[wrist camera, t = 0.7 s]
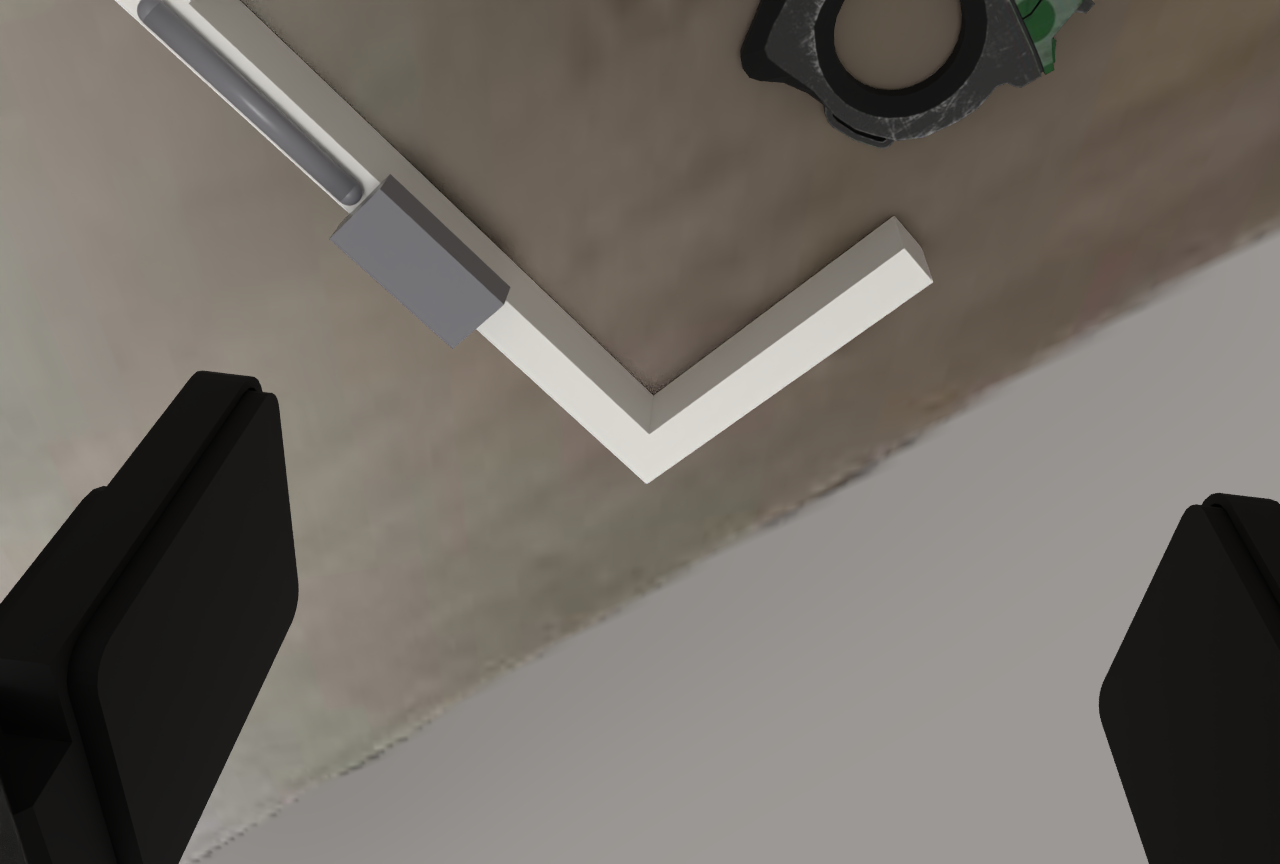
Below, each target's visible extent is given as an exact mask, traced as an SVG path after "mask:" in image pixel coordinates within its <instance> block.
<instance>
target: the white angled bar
mask: <svg viewBox="0 0 1280 864" xmlns="http://www.w3.org/2000/svg"><path fill="white" fill-rule="evenodd" d="M115 1H116V2H117V3H118V4H119V5H121V6H122V7H123V8H124V9H125V10H126V11H127V12H128V13H129V14H130V15H132V16H133V17H134V18H135V19H136V20H137V21H138V22H139V23H140V24H141V25H143V26H144V27H145V28H146V29H147V30H148V31H149V32H150V33H151V34H152V35H154V36H155V37H156V38H157V39H158V40H159V41H160V42H161V43H162V44H163V45H165V46H166V47H167V48H168V49H169V50H170V51H171V52H172V53H173V54H174V55H175V56H177V57H178V58H179V59H180V60H181V61H182V62H183V63H184V64H185V65H186V66H188V67H189V68H190V69H191V70H192V71H193V72H194V73H195V74H196V75H197V76H199V77H200V78H201V79H202V80H203V81H204V82H205V83H206V84H207V85H208V86H210V87H211V88H212V89H213V90H214V91H215V92H216V93H217V94H218V95H219V96H221V97H222V98H223V99H224V100H225V101H226V102H227V103H228V104H229V105H230V106H232V107H233V108H234V109H235V110H236V111H237V112H238V113H239V114H240V115H241V116H243V117H244V118H245V119H246V120H247V121H248V122H249V123H250V124H251V125H252V126H254V127H255V128H256V129H257V130H258V131H259V132H260V133H261V134H262V135H263V136H265V137H266V138H267V139H268V140H269V141H270V142H271V143H272V144H273V145H274V146H276V147H277V148H278V149H279V150H280V151H281V152H282V153H283V154H284V155H285V156H287V157H288V158H289V159H290V160H291V161H292V162H293V163H294V164H295V165H296V166H298V167H299V168H300V169H301V170H302V171H303V172H304V173H305V174H306V175H307V176H309V177H310V178H311V179H312V180H313V181H314V182H315V183H316V184H317V185H318V186H320V187H321V188H322V189H323V190H324V191H325V192H326V193H327V194H328V195H329V196H331V197H332V198H333V199H334V200H335V201H336V202H337V203H338V204H339V205H340V206H342V207H343V208H344V209H345V210H346V211H347V212H348V213H349V215H348V216H347V217H346V218H345V219H344V220H343V221H342V222H341V223H340V225H339V226H338V228H337V229H336V230H335V232H334V233H333V235H332V236H331V237H330V240H331V241H332V242H333V243H334V244H335V245H336V246H338V247H339V248H340V249H341V250H342V251H343V252H344V253H345V254H347V255H348V256H349V257H350V258H351V259H352V260H353V261H354V262H356V263H357V264H358V265H359V266H360V267H361V268H362V269H363V270H364V271H366V272H367V273H368V274H369V275H370V276H371V277H372V278H373V279H375V280H376V281H377V282H378V283H379V284H380V285H381V286H382V287H384V288H385V289H386V290H387V291H388V292H389V293H390V294H391V295H393V296H394V297H395V298H396V299H397V300H398V301H399V302H400V303H402V304H403V305H404V306H405V307H406V308H407V309H408V310H409V311H410V312H412V313H413V314H414V315H415V316H416V317H417V318H418V319H419V320H421V321H422V322H423V323H424V324H425V325H426V326H427V327H428V328H430V329H431V330H432V331H433V332H434V333H435V334H436V335H437V336H439V337H440V338H441V339H442V340H443V341H444V342H445V343H446V344H448V345H449V346H450V347H451V348H452V349H453V348H454V347H456V346H457V345H458V344H459V343H460V342H461V341H463V340H464V339H465V338H466V337H467V336H468V335H470V334H471V333H472V332H473V331H474V330H475V329H477V330H478V331H479V332H480V333H481V334H482V335H483V336H484V337H486V338H487V339H488V340H489V341H490V342H491V343H492V344H493V345H494V346H495V347H497V348H498V349H499V350H500V351H501V352H502V353H503V354H504V355H505V356H506V357H508V358H509V359H510V360H511V361H512V362H513V363H514V364H515V365H516V366H517V367H519V368H520V369H521V370H522V371H523V372H524V373H525V374H526V375H527V376H528V377H530V378H531V379H532V380H533V381H534V382H535V383H536V384H537V385H538V386H539V387H541V388H542V389H543V390H544V391H545V392H546V393H547V394H548V395H549V396H550V397H552V398H553V399H554V400H555V401H556V402H557V403H558V404H559V405H560V406H561V407H563V408H564V409H565V410H566V411H567V412H568V413H569V414H570V415H571V416H572V417H574V418H575V419H576V420H577V421H578V422H579V423H580V424H581V425H582V426H583V427H584V428H586V429H587V430H588V431H589V432H590V433H591V434H592V435H593V436H594V437H595V438H597V439H598V440H599V441H600V442H601V443H602V444H603V445H604V446H605V447H606V448H608V449H609V450H610V451H611V452H612V453H613V454H614V455H615V456H616V457H617V458H619V459H620V460H621V461H622V462H623V463H624V464H625V465H626V466H627V467H628V468H630V469H631V470H632V471H633V472H634V473H635V474H636V475H637V476H638V477H639V478H641V479H642V480H643V481H644V482H645V483H646V484H648V483H649V482H651V481H652V480H653V479H655V478H656V477H658V476H659V475H660V474H662V473H663V472H665V471H666V470H668V469H669V468H670V467H672V466H673V465H675V464H676V463H677V462H679V461H680V460H682V459H683V458H685V457H686V456H687V455H689V454H690V453H692V452H693V451H694V450H696V449H697V448H699V447H700V446H702V445H703V444H704V443H706V442H707V441H709V440H710V439H711V438H713V437H714V436H716V435H717V434H719V433H720V432H721V431H723V430H724V429H726V428H727V427H728V426H730V425H731V424H733V423H734V422H736V421H737V420H738V419H740V418H741V417H743V416H744V415H746V414H747V413H748V412H750V411H751V410H753V409H754V408H755V407H757V406H758V405H760V404H761V403H763V402H764V401H765V400H767V399H768V398H770V397H771V396H772V395H774V394H775V393H777V392H778V391H780V390H781V389H782V388H784V387H785V386H787V385H788V384H789V383H791V382H792V381H794V380H795V379H797V378H798V377H799V376H801V375H802V374H804V373H805V372H806V371H808V370H809V369H811V368H812V367H814V366H815V365H816V364H818V363H819V362H821V361H822V360H823V359H825V358H826V357H828V356H829V355H831V354H832V353H833V352H835V351H836V350H838V349H839V348H840V347H842V346H843V345H845V344H846V343H848V342H849V341H850V340H852V339H853V338H855V337H856V336H857V335H859V334H860V333H862V332H863V331H865V330H866V329H867V328H869V327H870V326H872V325H873V324H874V323H876V322H877V321H879V320H880V319H882V318H883V317H884V316H886V315H887V314H889V313H890V312H891V311H893V310H894V309H896V308H897V307H899V306H900V305H901V304H903V303H904V302H906V301H907V300H908V299H910V298H911V297H913V296H914V295H916V294H917V293H918V292H920V291H921V290H923V289H924V288H925V287H927V286H928V285H930V284H931V283H933V280H932V277H931V274H930V271H929V268H928V265H927V262H926V259H925V256H924V253H923V250H922V248H921V246H920V245H919V244H918V243H917V242H916V240H915V239H914V238H913V237H912V236H911V234H910V233H909V232H908V231H907V230H906V229H905V227H904V226H903V225H902V224H901V223H900V221H899V220H898V219H897V218H896V217H895V216H893V217H891V218H890V219H889V220H887V221H886V222H885V223H883V224H882V225H881V226H879V227H878V228H877V229H875V230H874V231H873V232H871V233H870V234H869V235H867V236H866V237H865V238H863V239H862V240H861V241H859V242H858V243H857V244H855V245H854V246H853V247H851V248H850V249H849V250H847V251H846V252H845V253H843V254H842V255H841V256H839V257H838V258H837V259H835V260H834V261H833V262H831V263H830V264H829V265H827V266H826V267H825V268H823V269H822V270H821V271H819V272H818V273H817V274H815V275H814V276H813V277H811V278H810V279H809V280H807V281H806V282H805V283H803V284H802V285H800V286H799V287H798V288H796V289H795V290H794V291H792V292H791V293H790V294H788V295H787V296H786V297H784V298H783V299H782V300H780V301H779V302H778V303H776V304H775V305H774V306H772V307H771V308H770V309H768V310H767V311H766V312H764V313H763V314H762V315H760V316H759V317H758V318H756V319H755V320H754V321H752V322H751V323H750V324H748V325H747V326H746V327H744V328H743V329H742V330H740V331H739V332H738V333H736V334H735V335H734V336H732V337H731V338H730V339H728V340H727V341H726V342H724V343H723V344H722V345H720V346H719V347H718V348H716V349H715V350H714V351H712V352H711V353H710V354H708V355H707V356H706V357H704V358H703V359H702V360H700V361H699V362H698V363H696V364H695V365H694V366H692V367H691V368H690V369H688V370H687V371H686V372H684V373H683V374H682V375H680V376H679V377H678V378H676V379H675V380H674V381H672V382H671V383H670V384H668V385H667V386H666V387H664V388H663V389H662V390H660V391H659V392H658V393H656V394H655V395H654V396H653V395H652V394H651V393H650V392H649V391H648V390H647V389H646V388H645V387H644V386H643V385H642V384H641V383H640V382H639V381H638V380H637V379H636V378H634V377H633V376H632V375H631V374H630V373H629V372H628V371H627V370H626V369H625V368H624V367H623V366H622V365H621V364H620V363H619V362H618V361H617V360H616V359H615V358H614V357H612V356H611V355H610V354H609V353H608V352H607V351H606V350H605V349H604V348H603V347H602V346H601V345H600V344H599V343H598V342H597V341H596V340H595V339H594V338H593V337H592V336H591V335H589V334H588V333H587V332H586V331H585V330H584V329H583V328H582V327H581V326H580V325H579V324H578V323H577V322H576V321H575V320H574V319H573V318H572V317H571V316H570V315H569V314H568V313H566V312H565V311H564V310H563V309H562V308H561V307H560V306H559V305H558V304H557V303H556V302H555V301H554V300H553V299H552V298H551V297H550V296H549V295H548V294H547V293H546V292H545V291H543V290H542V289H541V288H540V287H539V286H538V285H537V284H536V283H535V282H534V281H533V280H532V279H531V278H530V277H529V276H528V275H527V274H526V273H525V272H524V271H523V270H521V269H520V268H519V267H518V266H517V265H516V264H515V263H514V262H513V261H512V260H511V259H510V258H509V257H508V256H507V255H506V254H505V253H504V252H503V251H502V250H501V249H500V248H498V247H497V246H496V245H495V244H494V243H493V242H492V241H491V240H490V239H489V238H488V237H487V236H486V235H485V234H484V233H483V232H482V231H481V230H480V229H479V228H478V227H477V226H475V225H474V224H473V223H472V222H471V221H470V220H469V219H468V218H467V217H466V216H465V215H464V214H463V213H462V212H461V211H460V210H459V209H458V208H457V207H456V206H455V205H454V204H452V203H451V202H450V201H449V200H448V199H447V198H446V197H445V196H444V195H443V194H442V193H441V192H440V191H439V190H438V189H437V188H436V187H435V186H434V185H433V184H432V183H430V182H429V181H428V180H427V179H426V178H425V177H424V176H423V175H422V174H421V173H420V172H419V171H418V170H417V169H416V168H415V167H414V166H413V165H412V164H411V163H410V162H409V161H407V160H406V159H405V158H404V157H403V156H402V155H401V154H400V153H399V152H398V151H397V150H396V149H395V148H394V147H393V146H392V145H391V144H390V143H389V142H388V141H387V140H386V139H384V138H383V137H382V136H381V135H380V134H379V133H378V132H377V131H376V130H375V129H374V128H373V127H372V126H371V125H370V124H369V123H368V122H367V121H366V120H365V119H364V118H363V117H361V116H360V115H359V114H358V113H357V112H356V111H355V110H354V109H353V108H352V107H351V106H350V105H349V104H348V103H347V102H346V101H345V100H344V99H343V98H342V97H341V96H339V95H338V94H337V93H336V92H335V91H334V90H333V89H332V88H331V87H330V86H329V85H328V84H327V83H326V82H325V81H324V80H323V79H322V78H321V77H320V76H319V75H318V74H316V73H315V72H314V71H313V70H312V69H311V68H310V67H309V66H308V65H307V64H306V63H305V62H304V61H303V60H302V59H301V58H300V57H299V56H298V55H297V54H296V53H295V52H293V51H292V50H291V49H290V48H289V47H288V46H287V45H286V44H285V43H284V42H283V41H282V40H281V39H280V38H279V37H278V36H277V35H276V34H275V33H274V32H273V31H271V30H270V29H269V28H268V27H267V26H266V25H265V24H264V23H263V22H262V21H261V20H260V19H259V18H258V17H257V16H256V15H255V14H254V13H253V12H252V11H251V10H250V9H248V8H247V7H246V6H245V5H244V4H243V3H242V2H241V1H240V0H115Z"/></svg>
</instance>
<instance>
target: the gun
mask: <svg viewBox="0 0 1280 864" xmlns="http://www.w3.org/2000/svg"><path fill="white" fill-rule="evenodd" d="M843 2H844V0H761V1H760V4H759V6H758V9H757V12H756V14H755V17H754V19H753V21H752V23H751V26H750V28H749V30H748V33H747V35H746V37H745V40H744V43H743V45H742V48H741V61H742V67H743V69H744V71H745V72H746V74H747V75H748V76H749V78H753V79H756V80H759V81H769V82H781V83H786V84H788V85H790V86H792V87H795V88H797V89H799V90H802V91H804V92H806V93H808V94H809V95H811V96H812V97H814V98H815V99H816V100H818V101H819V102H821V103H822V104H823V105H824V111H825V115H826V118H827V121H828V122H829V124H830V125H831V126H832V127H833V128H835V129H837V130H838V131H840V132H841V133H843V134H845V135H846V136H848V137H849V138H851V139H853V140H855V141H858V142H861V143H864V144H867V145H870V146H873V147H876V148H887V147H888V146H890V145H891V144H892V143H893V142H894V140H897V141H900V140H908V139H915V138H923V137H926V136H928V135H930V134H933V133H935V132H937V131H939V130H942V129H944V128H946V127H948V126H950V125H952V124H954V123H956V122H958V121H960V120H961V119H963V118H964V117H966V116H967V115H969V114H970V113H972V112H973V111H975V110H976V109H978V108H979V107H980V106H981V104H982V103H983V102H984V101H985V100H986V99H987V98H988V96H989V95H990V94H991V93H992V92H993V91H994V90H995V88H996V87H997V86H1001V85H1004V84H1007V83H1008V84H1009V85H1011V86H1014V87H1019V88H1022V87H1023V86H1025V85H1027V84H1029V83H1030V82H1032V81H1034V80H1036V79H1038V78H1039V77H1041V73H1042V72H1044V73H1045V75H1046V74H1047V73H1049V72H1051V71H1053V70H1054V62H1055V46H1056V40H1055V39H1054V37H1053V36H1054V35H1055V34H1056V33H1057V32H1058V31H1059V29H1060V28H1061V27H1062V26H1063V25H1064V23H1065V22H1066V21H1067V20H1068V19H1069V18H1070V16H1071V15H1072V14H1073V13H1074V12H1079V13H1087V12H1088V11H1089V9H1090V8H1091V7H1092V6H1093V5H1094V4H1095V3H1094V2H1093V1H1091V0H960V2H961V10H962V25H961V31H960V35H959V39H958V42H957V44H956V46H955V48H954V50H953V53H952V54H951V56H950V57H949V58H948V60H947V61H946V63H945V64H944V65H943V66H942V67H941V68H940V69H939V70H938V71H937V72H936V73H935V74H933V75H932V76H931V77H929V78H928V79H926V80H925V81H923V82H921V83H919V84H916V85H914V86H912V87H908V88H904V89H900V90H882V89H875V88H873V87H870V86H867V85H864V84H863V83H861V82H859V81H858V80H856V79H854V78H853V77H852V76H851V75H850V74H849V73H848V72H847V71H846V70H845V68H844V67H843V66H842V64H841V63H840V61H839V59H838V57H837V54H836V52H835V47H834V27H835V22H836V17H837V15H838V13H839V11H840V8H841V6H842V4H843Z"/></svg>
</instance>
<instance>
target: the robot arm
mask: <svg viewBox="0 0 1280 864" xmlns="http://www.w3.org/2000/svg"><path fill="white" fill-rule="evenodd" d="M298 592H299V588H298V576H297V567H296V558H295V549H294V540H293V530H292V521H291V512H290V503H289V494H288V485H287V475H286V466H285V457H284V448H283V439H282V430H281V420H280V411H279V404H278V400H277V398H276V395H274V394H273V393H267V392H262V388H261V385H260V383H259V381H258V379H256V378H255V377H251V376H243V375H235V374H226V373H218V372H210V371H198V372H196V373H195V374H194V375H193V376H192V377H191V378H190V379H189V380H188V382H187V383H186V384H185V386H184V387H183V388H182V390H181V391H180V392H179V393H178V395H177V396H176V397H175V399H174V400H173V401H172V403H171V404H170V405H169V406H168V408H167V409H166V410H165V412H164V413H163V414H162V416H161V417H160V418H159V419H158V421H157V422H156V423H155V425H154V426H153V427H152V428H151V430H150V431H149V432H148V434H147V435H146V436H145V438H144V439H143V440H142V441H141V443H140V444H139V445H138V447H137V448H136V449H135V451H134V452H133V453H132V454H131V456H130V457H129V458H128V460H127V461H126V462H125V464H124V465H123V466H122V467H121V469H120V470H119V471H118V473H117V474H116V475H115V476H114V478H113V479H112V480H111V482H110V483H109V484H108V486H102V487H99V488H96V489H94V490H92V491H91V492H90V493H89V494H88V495H87V496H86V497H85V498H84V499H83V500H82V501H81V502H80V504H79V505H78V506H77V507H76V509H75V510H74V511H73V512H72V514H71V515H70V516H69V518H68V519H67V520H66V521H65V523H64V524H63V525H62V526H61V528H60V529H59V530H58V532H57V533H56V534H55V535H54V537H53V538H52V539H51V540H50V542H49V543H48V544H47V545H46V547H45V548H44V549H43V551H42V552H41V553H40V554H39V556H38V557H37V558H36V559H35V561H34V562H33V563H32V565H31V566H30V567H29V568H28V570H27V571H26V572H25V573H24V575H23V576H22V577H21V578H20V580H19V581H18V582H17V584H16V585H15V586H14V587H13V589H12V590H11V591H10V592H9V594H8V595H7V596H6V598H5V599H4V600H3V601H2V603H1V604H0V864H179V861H180V859H181V857H182V855H183V853H184V851H185V849H186V847H187V844H188V842H189V840H190V838H191V836H192V834H193V832H194V829H195V827H196V825H197V823H198V821H199V819H200V817H201V815H202V812H203V810H204V808H205V806H206V804H207V802H208V800H209V798H210V795H211V793H212V791H213V789H214V787H215V785H216V783H217V781H218V778H219V776H220V774H221V772H222V770H223V768H224V766H225V764H226V761H227V759H228V757H229V755H230V753H231V751H232V749H233V746H234V744H235V742H236V740H237V738H238V736H239V734H240V732H241V729H242V727H243V725H244V723H245V721H246V719H247V717H248V715H249V712H250V710H251V708H252V706H253V704H254V702H255V700H256V698H257V695H258V693H259V691H260V689H261V687H262V685H263V683H264V681H265V678H266V676H267V674H268V672H269V670H270V668H271V666H272V663H273V661H274V659H275V657H276V655H277V653H278V651H279V649H280V646H281V644H282V642H283V640H284V638H285V636H286V634H287V632H288V629H289V627H290V625H291V623H292V621H293V618H294V615H295V611H296V608H297V602H298ZM1099 713H1100V718H1101V722H1102V725H1103V728H1104V731H1105V734H1106V737H1107V740H1108V743H1109V746H1110V749H1111V752H1112V755H1113V758H1114V761H1115V764H1116V767H1117V770H1118V773H1119V776H1120V779H1121V782H1122V785H1123V788H1124V790H1125V794H1126V797H1127V799H1128V803H1129V806H1130V808H1131V812H1132V814H1133V817H1134V820H1135V823H1136V826H1137V829H1138V832H1139V835H1140V838H1141V841H1142V844H1143V847H1144V850H1145V853H1146V856H1147V859H1148V862H1149V864H1280V504H1279V503H1278V502H1277V501H1274V500H1271V499H1265V498H1256V497H1247V496H1240V495H1231V494H1223V493H1215V494H1211V495H1210V496H1209V497H1208V498H1207V499H1205V501H1204V502H1203V504H1202V505H1192V506H1190V507H1189V508H1187V509H1186V511H1185V513H1184V514H1183V516H1182V518H1181V520H1180V522H1179V524H1178V526H1177V528H1176V530H1175V532H1174V534H1173V536H1172V539H1171V541H1170V543H1169V545H1168V547H1167V549H1166V551H1165V553H1164V556H1163V558H1162V560H1161V562H1160V564H1159V566H1158V568H1157V570H1156V572H1155V574H1154V576H1153V579H1152V581H1151V583H1150V585H1149V587H1148V589H1147V591H1146V593H1145V595H1144V598H1143V600H1142V602H1141V604H1140V606H1139V608H1138V610H1137V612H1136V614H1135V616H1134V619H1133V621H1132V623H1131V625H1130V627H1129V629H1128V631H1127V633H1126V635H1125V638H1124V640H1123V642H1122V644H1121V646H1120V648H1119V650H1118V652H1117V654H1116V656H1115V658H1114V661H1113V663H1112V665H1111V667H1110V669H1109V671H1108V673H1107V675H1106V677H1105V679H1104V682H1103V684H1102V687H1101V691H1100V696H1099Z"/></svg>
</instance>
